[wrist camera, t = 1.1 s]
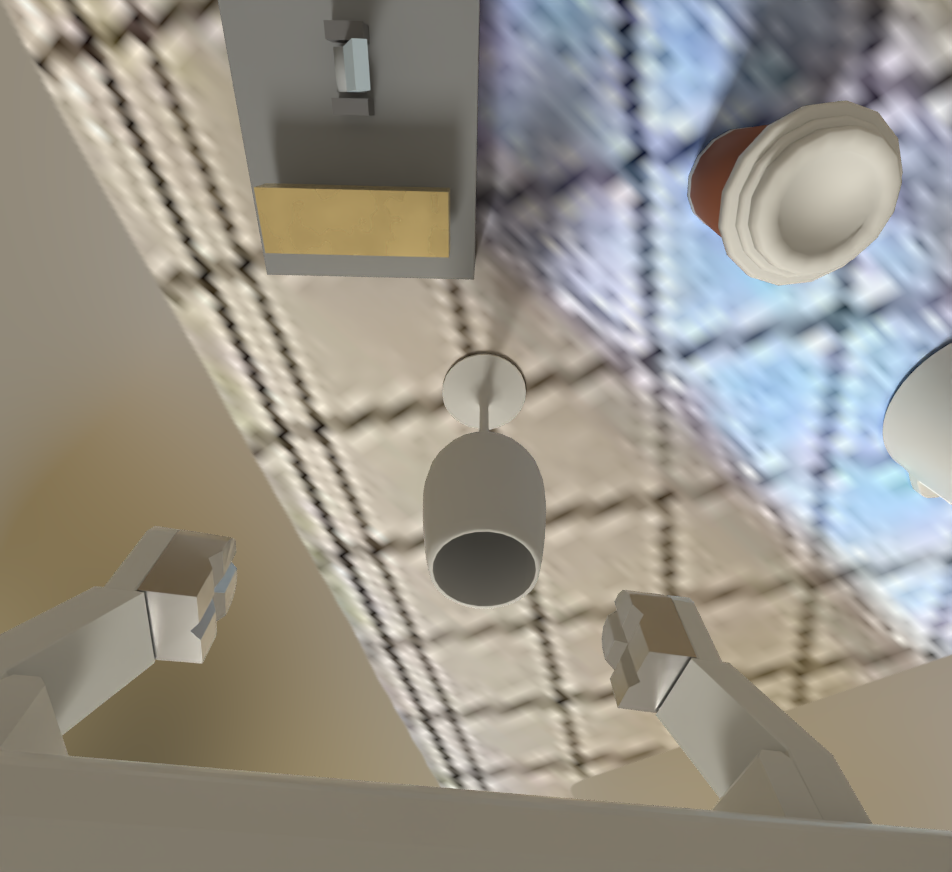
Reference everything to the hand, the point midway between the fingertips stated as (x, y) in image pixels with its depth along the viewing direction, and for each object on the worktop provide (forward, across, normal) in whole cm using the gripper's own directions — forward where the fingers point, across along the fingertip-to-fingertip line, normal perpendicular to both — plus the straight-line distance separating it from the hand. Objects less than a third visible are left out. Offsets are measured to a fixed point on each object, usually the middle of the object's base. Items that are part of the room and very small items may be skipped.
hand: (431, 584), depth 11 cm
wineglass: (+34, -5, +11) cm, 36 cm away
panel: (+34, +7, -9) cm, 36 cm away
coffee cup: (+33, -18, -8) cm, 39 cm away
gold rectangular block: (+27, +6, -2) cm, 28 cm away
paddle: (+28, +8, -9) cm, 30 cm away
